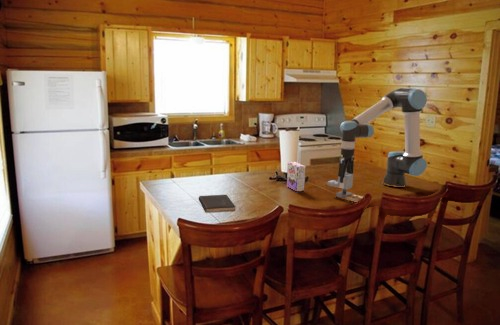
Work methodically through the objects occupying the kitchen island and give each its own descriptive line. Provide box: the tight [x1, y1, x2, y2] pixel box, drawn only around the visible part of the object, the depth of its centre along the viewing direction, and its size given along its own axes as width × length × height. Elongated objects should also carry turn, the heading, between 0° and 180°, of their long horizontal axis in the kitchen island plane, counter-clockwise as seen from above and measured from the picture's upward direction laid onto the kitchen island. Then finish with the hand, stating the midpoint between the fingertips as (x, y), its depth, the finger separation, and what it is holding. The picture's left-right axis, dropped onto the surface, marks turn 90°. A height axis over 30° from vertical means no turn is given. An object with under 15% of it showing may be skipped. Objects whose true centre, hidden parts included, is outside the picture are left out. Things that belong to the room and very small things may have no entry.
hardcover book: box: [198, 194, 237, 212], centre depth 218 cm, size 16×23×2 cm
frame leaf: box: [346, 193, 364, 202], centre depth 232 cm, size 9×7×2 cm
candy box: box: [286, 161, 306, 192], centre depth 251 cm, size 14×6×16 cm, turn 21°
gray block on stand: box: [335, 188, 354, 198], centre depth 236 cm, size 7×7×11 cm
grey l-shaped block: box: [326, 172, 354, 190], centre depth 237 cm, size 6×13×8 cm, turn 48°
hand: (344, 186), depth 235 cm, fingers closed on grey l-shaped block, 6 cm apart
